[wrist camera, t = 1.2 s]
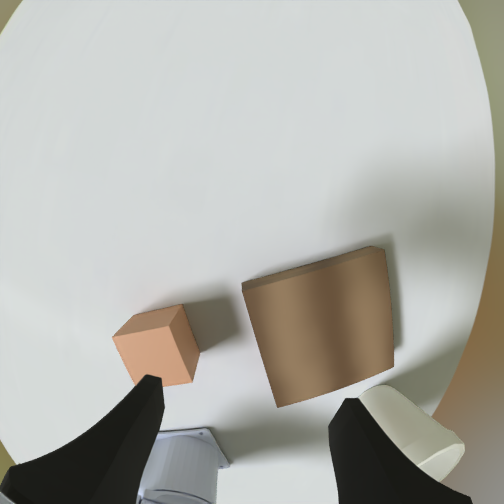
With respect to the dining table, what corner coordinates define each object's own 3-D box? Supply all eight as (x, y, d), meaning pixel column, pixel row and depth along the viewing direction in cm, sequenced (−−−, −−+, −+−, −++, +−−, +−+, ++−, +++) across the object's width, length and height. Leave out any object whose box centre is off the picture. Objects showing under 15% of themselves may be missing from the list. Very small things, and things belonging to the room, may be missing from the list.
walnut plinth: (273, 389, 25) (277, 407, 22) (241, 281, 23) (241, 291, 20) (381, 353, 25) (394, 366, 22) (368, 245, 23) (384, 249, 20)
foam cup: (359, 369, 25) (421, 452, 12) (418, 375, 25) (480, 435, 13) (323, 432, 26) (355, 516, 13) (382, 432, 27) (423, 498, 14)
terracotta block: (152, 361, 24) (137, 389, 19) (133, 314, 23) (111, 337, 18) (200, 352, 24) (192, 382, 19) (182, 303, 23) (168, 325, 18)
